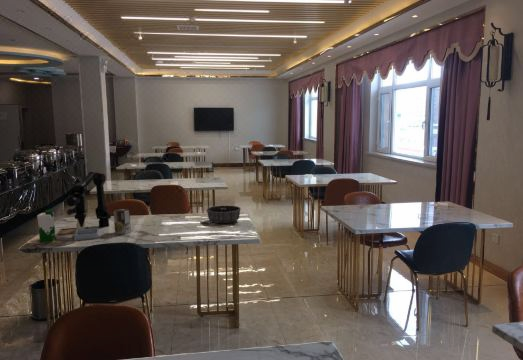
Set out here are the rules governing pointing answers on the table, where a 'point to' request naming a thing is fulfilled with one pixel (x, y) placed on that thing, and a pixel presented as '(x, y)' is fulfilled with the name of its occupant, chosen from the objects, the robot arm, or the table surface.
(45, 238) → the milk carton
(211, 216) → the bundt pan
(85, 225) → the tan rectangular block
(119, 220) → the coffee box
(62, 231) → the walnut caddy
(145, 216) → the table surface
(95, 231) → the slate bin
